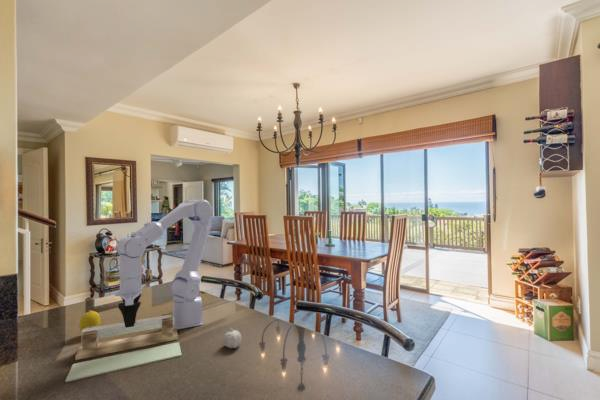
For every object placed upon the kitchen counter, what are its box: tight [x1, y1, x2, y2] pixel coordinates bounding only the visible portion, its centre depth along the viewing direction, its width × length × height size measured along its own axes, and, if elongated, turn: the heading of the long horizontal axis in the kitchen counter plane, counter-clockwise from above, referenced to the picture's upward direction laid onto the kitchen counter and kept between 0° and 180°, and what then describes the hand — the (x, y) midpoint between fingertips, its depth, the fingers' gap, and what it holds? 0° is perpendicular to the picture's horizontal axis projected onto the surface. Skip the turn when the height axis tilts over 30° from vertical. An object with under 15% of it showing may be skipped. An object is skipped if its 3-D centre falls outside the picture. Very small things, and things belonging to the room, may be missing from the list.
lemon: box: [78, 309, 101, 333], centre depth 95 cm, size 6×6×8 cm
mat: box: [64, 341, 182, 383], centre depth 80 cm, size 26×8×1 cm, turn 117°
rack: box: [75, 313, 179, 361], centre depth 89 cm, size 26×6×6 cm, turn 117°
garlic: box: [222, 327, 242, 349], centre depth 88 cm, size 6×5×5 cm
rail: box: [80, 313, 174, 343], centre depth 89 cm, size 24×3×3 cm, turn 117°
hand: (130, 321), depth 89 cm, fingers open, 7 cm apart
